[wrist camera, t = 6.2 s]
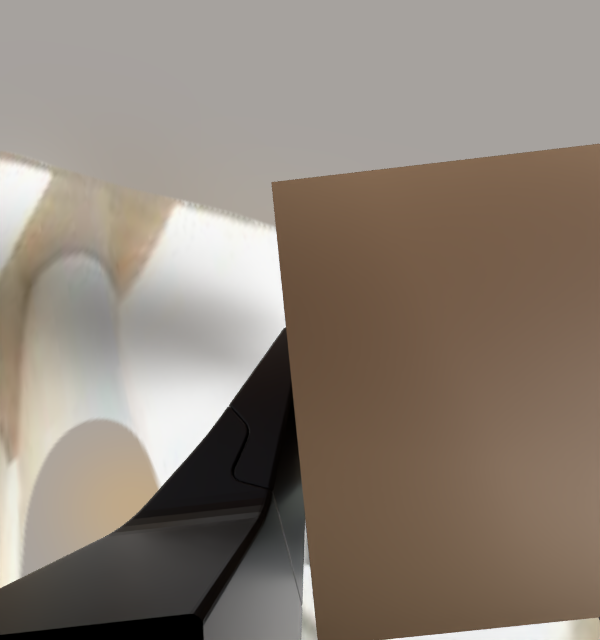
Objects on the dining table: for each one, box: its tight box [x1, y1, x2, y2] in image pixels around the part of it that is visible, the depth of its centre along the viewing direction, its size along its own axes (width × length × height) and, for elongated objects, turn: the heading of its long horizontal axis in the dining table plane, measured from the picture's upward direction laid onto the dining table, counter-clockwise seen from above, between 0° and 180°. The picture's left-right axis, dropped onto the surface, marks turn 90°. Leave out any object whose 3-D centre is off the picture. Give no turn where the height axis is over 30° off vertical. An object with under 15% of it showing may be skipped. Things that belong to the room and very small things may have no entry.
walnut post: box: [272, 144, 600, 640], centre depth 9 cm, size 4×4×12 cm
